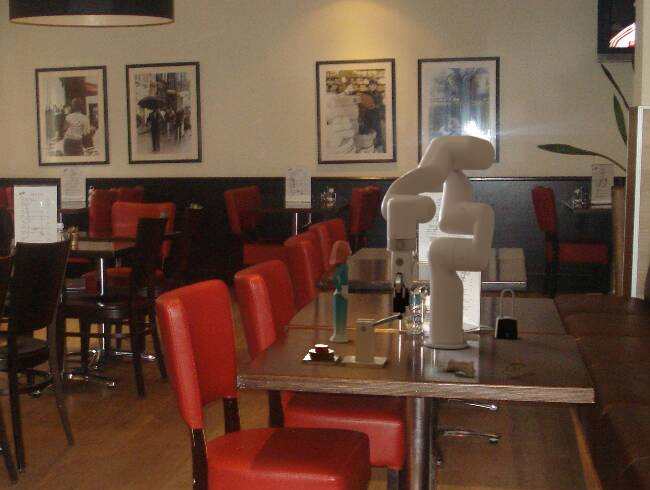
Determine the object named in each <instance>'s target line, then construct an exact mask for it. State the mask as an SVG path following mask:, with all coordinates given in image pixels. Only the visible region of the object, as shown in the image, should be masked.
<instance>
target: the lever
mask: <svg viewBox="0 0 650 490" xmlns="http://www.w3.org/2000/svg"><path fill="white" fill-rule="evenodd" d="M405 313H406V312H405ZM405 313H397V314H396V315H392V316H389V317H386V318H383V319H380V320H377V321H375V322H373V327H374V326H375V327H377V326H380V325H384V324H387V323H390V322H393V321H397V320H399V321H402V320H403V319H404V318H405V315H406V314H405ZM368 322H369V321H368Z"/></svg>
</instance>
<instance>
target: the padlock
mask: <svg viewBox="0 0 650 490" xmlns="http://www.w3.org/2000/svg"><path fill="white" fill-rule="evenodd" d="M506 292H510V293H511V315H510V316H507V315H503V314H504V313H503V311H504V295H505V293H506ZM515 299H516V297H515V292H514V290H513V289H511V288H504V289H503V290H502V291H501V294H500V306H499V307H500V308H499V310H500V311H499V316H497V317H496V320H495V331H494V338H495V339H499V340H519V338H520V337H519V320H518V318H517V317H516V315H515V308H516V307H515V305H516V304H515V303H516V301H515Z"/></svg>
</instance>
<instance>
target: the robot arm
mask: <svg viewBox="0 0 650 490" xmlns="http://www.w3.org/2000/svg"><path fill="white" fill-rule="evenodd" d="M495 158H496V150H495V147H494V145H493V144H492V143H491V142H490V141H489V140H488V139H485V138H481V137H478V136H474V135H467V134H466V135H465V134H464V135H458V134H457V135H438V136H436V137H434V138H433V139H431V141H430V143H429V144H428V146H427V148H426V150H425V152H424V154H423V156H422V157H421V160H420V161H419V163H418V165H417V167H416V168H414V169H413V168H412V169H411V170H410V171H408V172H406V173H405V174H402V175H401V176H400V177H398V178H397V179H395V180H394V181H393V182H392V183H391V184H390V186H389V188H388V189H387V191H386V193H385V194H384V197H383V199H382V202H381V208H380V211H381V215H382V218H383V219H384V220H385V221H386V251H387V252H390V253H391V256H390V257H391V259H390V260H391V261H390V262H391V265H390V266H391V267H390V268H391V269H390V271H391V273H390V274H391V275H390V276H391V288H392V289H393V297H392V313H395V314H399V313H406V312H407V311H406V310H407V308H408V307H409V306H410V290H411V289H412V287H413V285H414V255H413V252H417V225H418V224H428V223H430V222H431V221H432V220H433V219H434V218H435V216H436V213H437V205H436V202H435V200H434V198H432V197H430V196H428V195H422V194H424V193H428V192H430V191H434V190H437V189H438V188H441V187H442V186H443V188H442V196H441V201H440V207H439V213H438V219H437V220H438V223H437V224H438V225H437V226H438V229H439V230H440V232H442V233H444V234H448V235H457V236H459V235H460V236H473V238H472V237H451V236H441V237H436V238H433V239H432V240H431V241H430V242H429V243H428V245H427V250H426V256H427V262H428V268H429V314H428V315H429V317H428V318H429V320H428V321H429V323H428V338H426V339H423V345H424V346H425V347H428V348H433V349H441V350H457V349H458V350H460V349H464V348H467V347H468V346H469V342H468V341H470V342H479V334H475V333H467V332H465V329H464V325H463V324H464V293H465V292H464V288H465V287H464V283H463V281H462V279H461V277H460V276H459V273H457V272H468V273H469V272H471V273H481V272H483V271H484V270H486V269H487V267H488V265H489V261H490V256H491V251H492V243H493V237H494V231H495V223H496V222H495V221H496V220H495V219H496V218H495V211H494V208H493V207H492V206H491V205H490V204H488V203H486V202H475V201H473V194H474V186H473V184H472V182H471V180H470V179H469V177H468V176H467V175H466V174H465V173H464V171H486V170H489V169H491V167H492V166H493V164H494V162H495ZM463 170H464V171H463ZM420 194H421V195H420Z"/></svg>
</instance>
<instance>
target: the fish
mask: <svg viewBox="0 0 650 490" xmlns="http://www.w3.org/2000/svg"><path fill="white" fill-rule="evenodd" d="M532 362H533V359H532V358H531V359H530V360H529V361H528V362H527V363H526V364H524V363H521V359H520V356H518V357H516V360H515V361H514V362H512V363H509V364H507V365H505V367H503V368H502V370H501V373H502V374H504V375H508V377H510V376H512V377H513V378H517V377H518V375H520V376H523V375H524V372H525V370H527V371H528V372H529V373H530V374H532V373H533V371H532V367H531V366H532Z"/></svg>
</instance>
